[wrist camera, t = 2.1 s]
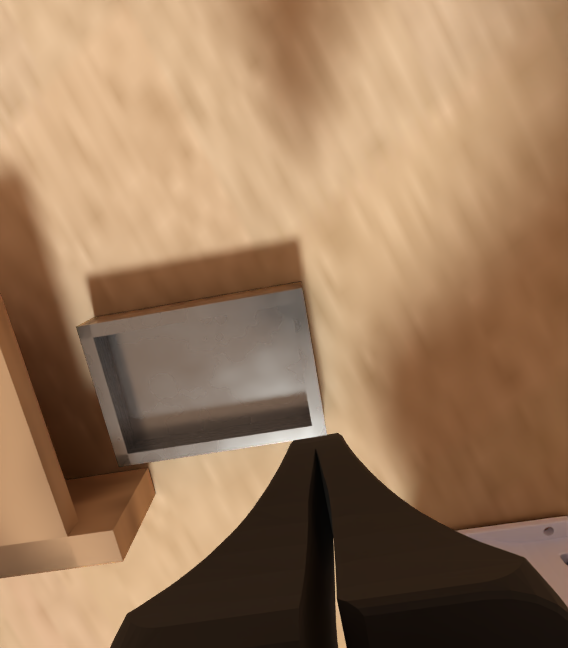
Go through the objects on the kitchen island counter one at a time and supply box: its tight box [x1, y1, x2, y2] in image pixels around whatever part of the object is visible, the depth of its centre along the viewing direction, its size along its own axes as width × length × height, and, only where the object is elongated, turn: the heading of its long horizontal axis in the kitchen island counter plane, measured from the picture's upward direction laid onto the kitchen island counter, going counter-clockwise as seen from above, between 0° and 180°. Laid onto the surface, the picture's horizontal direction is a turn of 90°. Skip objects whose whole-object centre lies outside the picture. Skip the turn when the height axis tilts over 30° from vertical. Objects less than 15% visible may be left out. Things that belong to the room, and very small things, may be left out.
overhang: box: [0, 294, 155, 578], centre depth 20 cm, size 10×12×5 cm
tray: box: [76, 281, 327, 467], centre depth 20 cm, size 10×7×2 cm
